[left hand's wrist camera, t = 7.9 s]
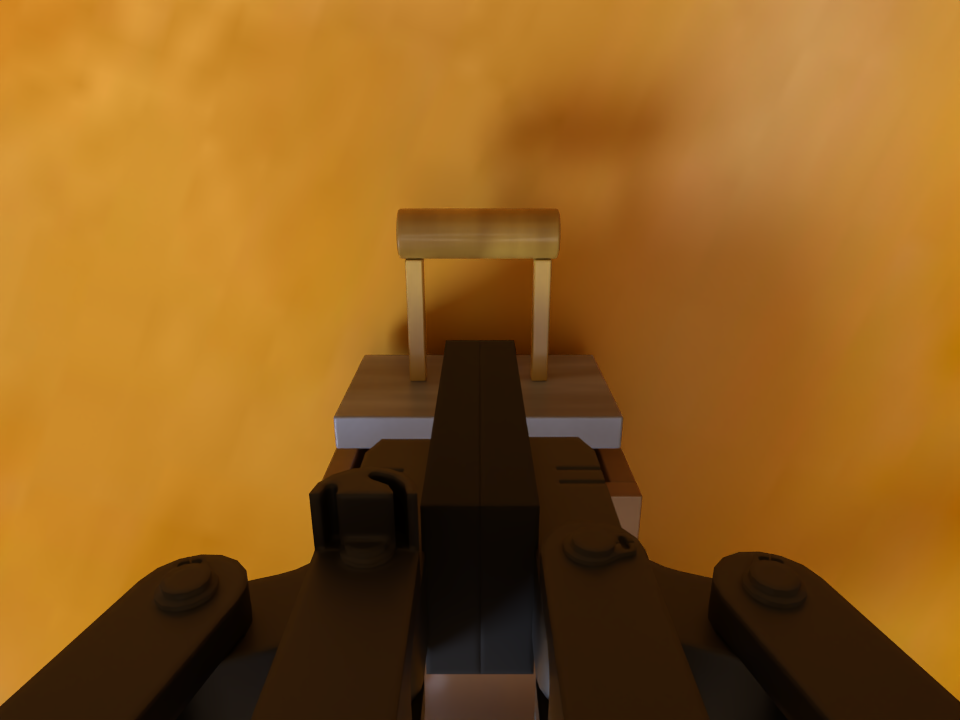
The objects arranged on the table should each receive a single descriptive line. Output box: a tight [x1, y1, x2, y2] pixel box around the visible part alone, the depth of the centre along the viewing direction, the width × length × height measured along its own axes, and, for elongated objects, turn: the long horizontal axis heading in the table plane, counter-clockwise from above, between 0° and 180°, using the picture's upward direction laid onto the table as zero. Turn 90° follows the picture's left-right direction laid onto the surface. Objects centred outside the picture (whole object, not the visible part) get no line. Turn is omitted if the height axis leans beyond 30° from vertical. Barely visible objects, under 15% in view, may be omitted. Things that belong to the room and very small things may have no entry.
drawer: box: [334, 209, 623, 448], centre depth 26 cm, size 23×10×6 cm, turn 0°
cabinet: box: [323, 447, 642, 720], centre depth 28 cm, size 18×11×8 cm, turn 0°
